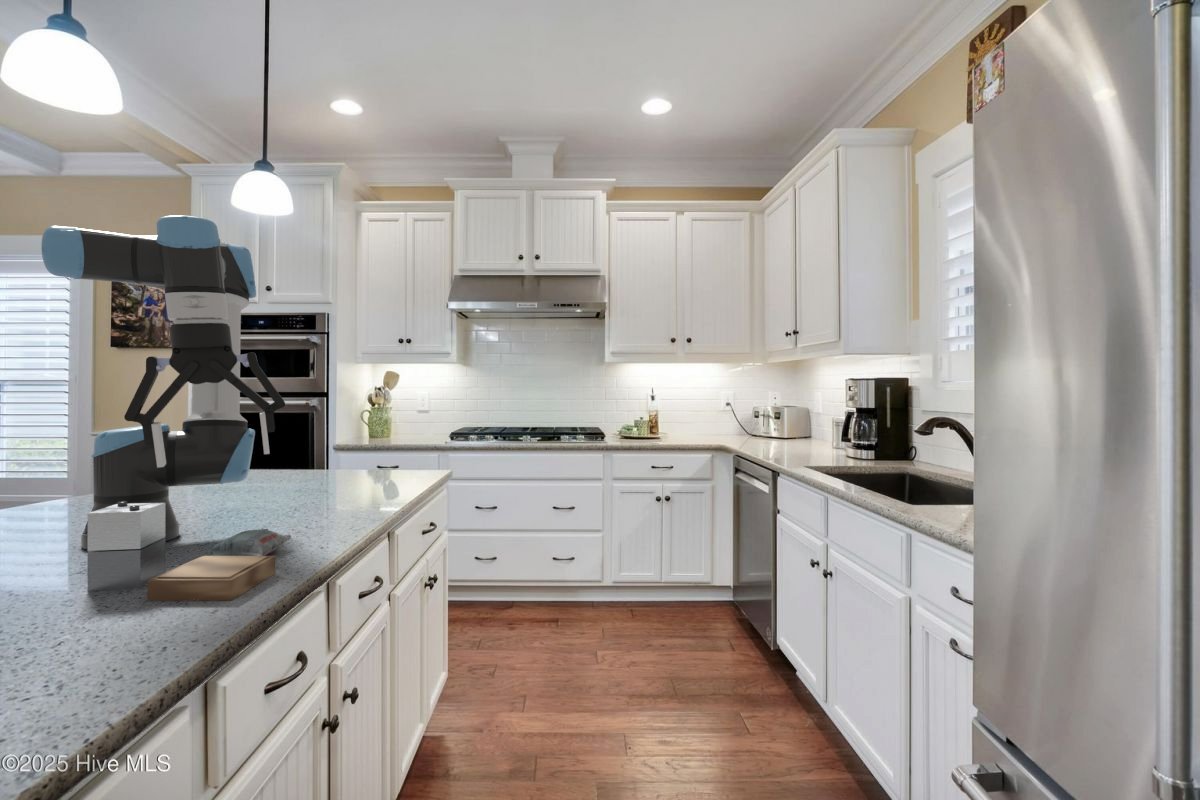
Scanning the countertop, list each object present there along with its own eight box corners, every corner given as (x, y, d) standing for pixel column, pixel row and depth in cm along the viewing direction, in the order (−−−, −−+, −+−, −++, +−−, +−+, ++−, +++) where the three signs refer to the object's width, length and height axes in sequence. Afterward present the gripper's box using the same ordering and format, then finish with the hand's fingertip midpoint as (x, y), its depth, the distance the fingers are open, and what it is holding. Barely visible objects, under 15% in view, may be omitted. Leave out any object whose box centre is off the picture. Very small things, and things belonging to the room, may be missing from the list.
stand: (202, 573, 93) (202, 554, 93) (275, 573, 93) (275, 554, 93) (147, 600, 81) (147, 578, 81) (231, 600, 81) (231, 578, 81)
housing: (116, 575, 91) (116, 500, 91) (165, 573, 93) (165, 499, 92) (87, 591, 84) (87, 509, 84) (140, 588, 86) (140, 507, 86)
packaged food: (290, 549, 108) (290, 524, 108) (259, 568, 96) (258, 540, 96) (244, 550, 107) (244, 525, 107) (206, 570, 95) (206, 542, 95)
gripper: (83, 323, 74) (106, 476, 77) (293, 319, 87) (307, 451, 90) (98, 325, 81) (118, 467, 83) (291, 321, 93) (304, 444, 96)
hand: (216, 459), depth 86 cm, fingers open, 13 cm apart
